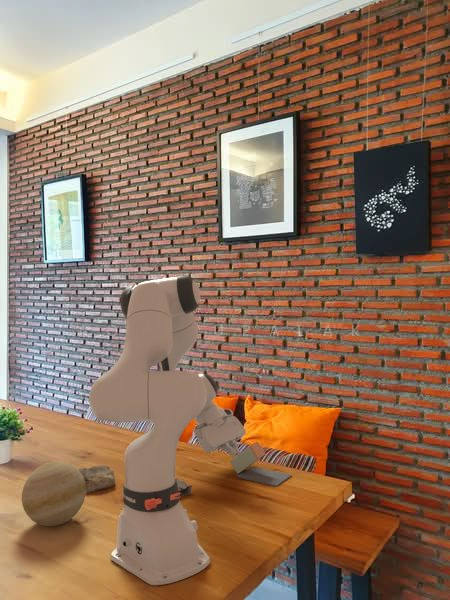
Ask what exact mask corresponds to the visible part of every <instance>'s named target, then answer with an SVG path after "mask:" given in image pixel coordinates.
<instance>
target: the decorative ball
mask: <svg viewBox="0 0 450 600" xmlns="http://www.w3.org/2000/svg"><path fill="white" fill-rule="evenodd" d="M21 491H22V492H21V504H22V508H23V510H24V512H25V514H26V516H27V517H28V518H29V519H30V520H32V522H34V523H36V524H38V525H40V526H44V527H56V526H60V525H63V524H65V523H67V522H68V521H70V520H71V519H73V518H74V517H75V516H76V515H77V513H78V512H79V511H80V509H81V508H82V506H83V505H84V504H83V503H84V501H85V498H86V495H87V493H86V486H85V481H84V478H83V476H82V474H81V473H80V471H79V470H78V468H77V467H76V466H75V465H73V464H71V463H70V462H66V461H61V460H54V461H49V462H46V463H43V464H42V465H40V466H38V467H36V468H35V470H33V471H32V472H31V473H30V475H29V476H28V477H27V478H26V480H25V482H24V485H23V488H22V490H21Z"/></svg>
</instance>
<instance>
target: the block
mask: <svg viewBox="0 0 450 600" xmlns="http://www.w3.org/2000/svg"><path fill="white" fill-rule="evenodd" d="M265 455H266V452H265V451H264V449H263V448H262V446H261V444H260V443H259V441H256V442H254V443H252V444H250V445H249V446H247V447H246V448H245V449H244V450H242V451H240V453H239V454H238V455H236V456H234V457H233V459H231V460H230V461H229V462H230V464H231V466H232V467H233V470H234V471H235V472H236V474H237V475H239V474H241V473H243V472H244V471H246V470H248V469H249V467H251V466H252V465H254V463H256V462H258V460H260V459H261V458H262V457H264V456H265Z"/></svg>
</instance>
